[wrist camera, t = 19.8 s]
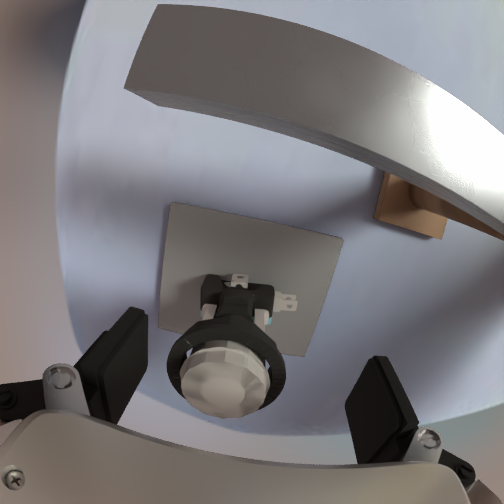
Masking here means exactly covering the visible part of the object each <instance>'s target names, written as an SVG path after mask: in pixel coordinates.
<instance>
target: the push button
mask: <svg viewBox="0 0 504 504" xmlns="http://www.w3.org/2000/svg"><path fill="white" fill-rule="evenodd" d="M237 277H243V278H242V279H241V278H237ZM248 277H249V276H248V275H245V274H233V275H232V280H231V281H226V280H221V276H220V275H215V274H208V275H206V277H205V279H204V281H203V284H202V286H201V295H200V317H202V318H203V319H202V321H198V322H196V323H195V324H194V325H193V326H191V327H190V328H189V329H188V330H187V331H185V333H184V334H183V335H182V336H181V337H180V338H179V339H178V340H177V341H176V342H175V343H174V345H173V347H172V349H171V351H170V353H169V356H168V359H167V373H168V376H169V379H170V381H171V383H172V385H173V386H174V388H175V389H176V391H177V392H178V393H179V394H180V395H181V396H182V397H183V398H185V399H186V400H187V402H189V403H190V405H191V406H193V407H195V408H196V409H198V410H199V411H201V412H202V413H204V414H207V415H211V416H215V417H219V418H240V417H243V416H245V415H248V414H251V413H253V412H255V411H257V410H260V409H262V408H264V407H266V406H267V405H269V404H270V403H272V402H273V401H274V400H275V399H276V398H277V397H278V396H279V394H280V393H281V391H282V390H283V387H284V385H285V380H286V370H285V363H284V360H283V358H282V355H281V354H280V352H279V350H278V349H277V345H276V343H275V341H273V340H272V339H271V338H270V337H269V336H268V335H267V334H266V333H265V325H269V324H271V320H272V313H273V312H280V310H286V311H296V309H297V303H298V302H297V300H296V295H294V294H282V293H281V291H274V287H273V286H272V285H268V284H257V283H248ZM287 297H290V298H291V300H286V298H287ZM287 305H293V306H292V307H291V308H288V307H287ZM192 347H193V349H192V352H191V355H190V356H189V357H188V358H187V355H186V352H187V351H188V350H190V349H191V348H192ZM265 359H266V361H267V362H268V363H269V365H270V367H269V369H268V371H267V370H266V368H265Z"/></svg>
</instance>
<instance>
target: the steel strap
mask: <svg viewBox="0 0 504 504" xmlns="http://www.w3.org/2000/svg"><path fill="white" fill-rule="evenodd" d="M124 89H126V90H128V91H130V92H132V93H134V94H136V95H138V96H140V97H142V98H144V99H146V100H148V101H150V102H152V103H154V104H155V105H157V106H162V107H168V108H174V109H180V110H186V111H191V112H196V113H201V114H206V115H211V116H215V117H220V118H224V119H228V120H233V121H237V122H241V123H245V124H249V125H252V126H256V127H260V128H264V129H267V130H271V131H274V132H278V133H281V134H284V135H287V136H291V137H294V138H297V139H300V140H303V141H306V142H309V143H312V144H315V145H318V146H321V147H324V148H327V149H330V150H332V151H335V152H338V153H341V154H343V155H346V156H348V157H351V158H354V159H356V160H359V161H361V162H364V163H366V164H369V165H371V166H373V167H376V168H378V169H380V170H383V171H385V172H387V173H390V174H392V175H394V176H396V177H398V178H401V179H403V180H405V181H407V182H409V183H411V184H413V185H416V186H418V187H420V188H422V189H424V190H426V191H428V192H430V193H432V194H434V195H436V196H437V197H439V198H441V199H443V200H445V201H447V202H449V203H451V204H452V205H454V206H456V207H458V208H460V209H461V210H463V211H465V212H467V213H468V214H470V215H472V216H473V217H475V218H477V219H478V220H480V221H482V222H483V223H485V224H487V225H488V226H490V227H491V228H493V229H495V230H496V231H498V232H499V233H501V234H502V235H504V136H503V135H502V134H501V133H500V132H499V131H497V130H496V129H495V128H494V127H493V126H492V125H490V124H489V123H488V122H487V121H486V120H484V119H483V118H482V117H481V116H479V115H478V114H477V113H475V112H474V111H473V110H472V109H470V108H469V107H467V106H466V105H465V104H463V103H462V102H461V101H459V100H458V99H456V98H455V97H453V96H452V95H451V94H449V93H448V92H446V91H445V90H443V89H441V88H440V87H438V86H437V85H435V84H434V83H432V82H430V81H429V80H427V79H425V78H424V77H422V76H420V75H419V74H417V73H415V72H413V71H411V70H410V69H408V68H406V67H404V66H402V65H400V64H398V63H396V62H394V61H392V60H390V59H388V58H386V57H384V56H382V55H380V54H378V53H376V52H374V51H371V50H369V49H367V48H365V47H362V46H360V45H358V44H355V43H353V42H350V41H348V40H345V39H342V38H340V37H337V36H334V35H331V34H329V33H326V32H323V31H320V30H317V29H314V28H310V27H307V26H304V25H300V24H297V23H293V22H289V21H285V20H281V19H277V18H273V17H269V16H264V15H259V14H254V13H249V12H243V11H237V10H230V9H223V8H215V7H205V6H193V5H173V4H158V5H157V7H156V9H155V11H154V13H153V15H152V17H151V20H150V22H149V24H148V26H147V28H146V31H145V33H144V35H143V38H142V40H141V42H140V45H139V47H138V50H137V52H136V55H135V57H134V60H133V63H132V65H131V68H130V71H129V74H128V77H127V80H126V83H125V86H124Z"/></svg>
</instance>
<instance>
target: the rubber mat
mask: <svg viewBox="0 0 504 504" xmlns="http://www.w3.org/2000/svg"><path fill="white" fill-rule="evenodd" d="M342 244H343V239H342V238H340V237H336V236H332V235H327V234H323V233H319V232H314V231H310V230H306V229H301V228H297V227H293V226H288V225H284V224H279V223H274V222H270V221H265V220H261V219H256V218H251V217H246V216H242V215H237V214H232V213H227V212H222V211H217V210H212V209H207V208H202V207H197V206H191V205H186V204H181V203H176V202H172V203H171V204H170V211H169V218H168V225H167V233H166V241H165V250H164V259H163V268H162V279H161V290H160V303H159V318H158V328H160V329H164V330H168V331H172V332H176V333H180V334H184V333H185V331H187V330H188V329H189V328H190V327H191V326H193V325H194V324H195V323H196V322H198V321H202V319H203V318H202V317H200V295H201V286H202V284H203V281H204V279H205V277H206V275H208V274H215V275H220V276H221V280H226V281H231V280H232V275H233V274H245V275H248V276H249V277H248V283H257V284H268V285H272V286H273V287H274V291H281V293H282V294H294V295H296V300H297V302H298V303H297V309H296V311H286V310H280V312H273V313H272V320H271V324H269V325H265V333H266V334H267V335H268V336H269V337H270V338H271V339H272V340H273V341H275V343H276V345H277V349H278V350H279V352H280V354H287V355H294V356H301V357H304V356H305V353H306V351H307V348H308V345H309V343H310V340H311V337H312V335H313V332H314V329H315V326H316V324H317V321H318V318H319V315H320V312H321V310H322V307H323V304H324V301H325V298H326V295H327V292H328V289H329V286H330V283H331V280H332V277H333V273H334V270H335V267H336V264H337V261H338V257H339V254H340V251H341V247H342ZM237 278H241V279H242V278H243V277H237ZM286 300H291V298H290V297H287V298H286ZM292 306H293V305H287V307H288V308H291V307H292Z"/></svg>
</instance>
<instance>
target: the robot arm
mask: <svg viewBox="0 0 504 504" xmlns="http://www.w3.org/2000/svg"><path fill="white" fill-rule="evenodd" d="M147 366H148V315H146V314H145V312H144V310H142V309H138V308H135V307H130V308H129V309H128V310H127V311H126V312H125V313H124V314H123V315H122V316H121V317H120V319H119V320H118V321H117V322H116V323H115V324H114V325H113V327H112V328H111V329H110V330H109V331H104V332H103V333H102V334H101V335H100V336H99V337H98V339H97V340H96V341H95V342H94V343H93V344H92V345H91V347H90V348H89V349H88V350H87V351H86V352H85V354H84V355H83V356H82V357H81V358H80V359H79V361H78V362H77V363H76V364H75V365H74V366H73V367H72V366H70V365H67V364H54V365H52V366H50V367H48V368H47V369H46V370H45V371H44V373H43V378H42V379H40V380H33V381H25V382H17V383H8V384H1V385H0V504H502V503H501V500H500V499H499V498H498V497H497V496H496V495H495V494H494V493H493V492H492V491H491V490H490V489H489V488H488V487H487V486H485V485H484V484H483V483H482V482H481V481H480V480H479V479H478V480H476V481H475V476H476V475H475V471H474V468H473V467H472V466H471V465H470V464H469V463H467V462H466V461H464V460H462V459H460V458H458V457H456V456H455V455H453V454H451V453H449V452H447V451H445V450H444V449H443V444H444V442H443V438H442V436H441V434H439V432H438V431H437V430H435V429H433V428H431V427H421V428H418V426H417V425H418V424H419V421H418V419H417V416H416V414H415V412H414V410H413V408H412V406H411V404H410V401H409V399H408V397H407V395H406V393H405V391H404V389H403V387H402V385H401V383H400V381H399V379H398V377H397V375H396V373H395V371H394V369H393V367H392V365H391V363H390V361H389V359H388V358H387V357H386V356H373V358H370V359H369V360H368V362H367V364H366V366H365V368H364V369H363V371H362V373H361V375H360V377H359V379H358V381H357V382H356V384H355V386H354V388H353V389H352V391H351V393H350V395H349V396H348V398H347V400H346V402H345V410H346V415H347V419H348V423H349V427H350V432H351V436H352V440H353V444H354V449H355V454H356V458H357V463H358V464H353V465H352V464H351V465H314V464H294V463H280V462H271V461H261V460H254V459H247V458H241V457H235V456H228V455H223V454H218V453H213V452H208V451H204V450H199V449H195V448H191V447H187V446H183V445H178V444H175V443H172V442H168V441H164V440H161V439H158V438H154V437H151V436H148V435H144V434H141V433H139V432H136V431H133V430H130V429H127V428H124V427H121V426H118V425H117V423H118V421H119V419H120V418H121V416H122V414H123V412H124V410H125V408H126V406H127V405H128V402H129V401H130V399H131V397H132V395H133V393H134V392H135V390H136V388H137V386H138V384H139V383H140V381H141V379H142V377H143V375H144V374H145V372H146V369H147Z"/></svg>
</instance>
